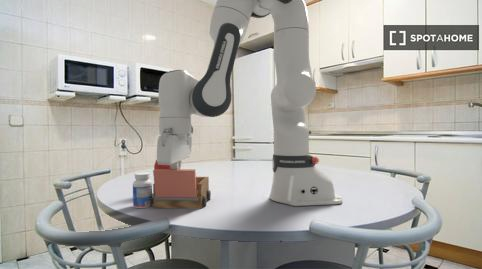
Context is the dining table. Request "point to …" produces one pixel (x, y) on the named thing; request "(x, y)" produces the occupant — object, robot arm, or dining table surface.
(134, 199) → the pill bottle
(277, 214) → the dining table surface
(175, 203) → the truck bed
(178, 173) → the tailgate
